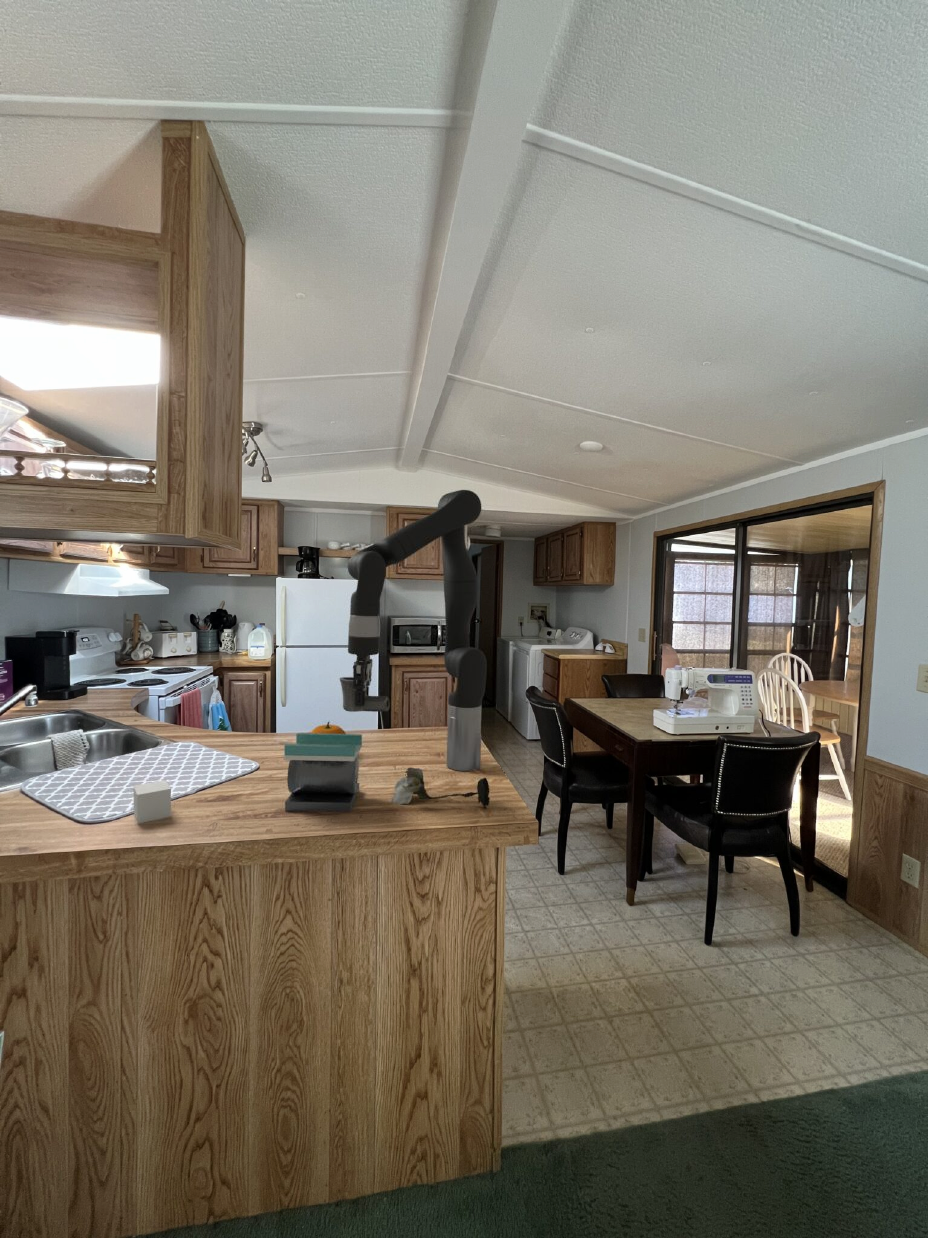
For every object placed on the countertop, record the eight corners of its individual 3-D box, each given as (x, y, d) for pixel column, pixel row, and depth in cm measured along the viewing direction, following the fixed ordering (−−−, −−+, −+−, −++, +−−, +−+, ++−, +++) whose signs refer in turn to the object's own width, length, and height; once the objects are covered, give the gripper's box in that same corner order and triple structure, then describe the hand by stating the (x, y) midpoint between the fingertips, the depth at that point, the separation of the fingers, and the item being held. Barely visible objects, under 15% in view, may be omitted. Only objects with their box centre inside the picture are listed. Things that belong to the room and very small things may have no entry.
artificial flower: (485, 821, 117) (479, 781, 114) (390, 819, 123) (381, 781, 120) (492, 796, 125) (486, 758, 122) (402, 795, 131) (395, 759, 128)
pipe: (383, 716, 126) (384, 683, 126) (333, 712, 129) (334, 679, 128) (392, 711, 132) (393, 679, 132) (343, 707, 135) (344, 675, 134)
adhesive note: (133, 814, 112) (133, 785, 112) (165, 807, 116) (165, 780, 115) (137, 824, 107) (137, 794, 107) (170, 817, 111) (170, 788, 111)
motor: (361, 791, 128) (362, 733, 127) (352, 812, 116) (353, 748, 115) (297, 790, 127) (298, 732, 127) (282, 811, 115) (283, 746, 115)
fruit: (335, 747, 163) (335, 715, 162) (355, 757, 154) (356, 722, 154) (298, 754, 155) (299, 720, 154) (318, 765, 146) (318, 729, 146)
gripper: (375, 637, 123) (373, 710, 123) (383, 632, 137) (381, 698, 138) (342, 635, 122) (340, 709, 123) (354, 631, 137) (351, 697, 138)
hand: (361, 703), depth 130 cm, fingers closed on pipe, 5 cm apart
